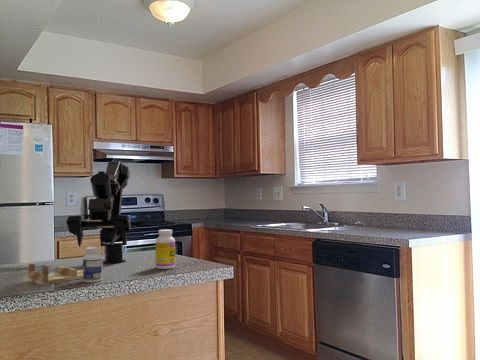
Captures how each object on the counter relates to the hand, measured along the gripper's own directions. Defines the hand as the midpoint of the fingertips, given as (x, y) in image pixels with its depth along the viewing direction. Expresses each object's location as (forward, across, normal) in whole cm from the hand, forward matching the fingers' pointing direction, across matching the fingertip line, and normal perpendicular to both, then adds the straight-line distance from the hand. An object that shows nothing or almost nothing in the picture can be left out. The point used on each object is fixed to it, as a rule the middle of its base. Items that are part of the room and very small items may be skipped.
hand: (94, 245), depth 128 cm
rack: (+5, -9, +9) cm, 14 cm away
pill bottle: (+9, 0, +6) cm, 11 cm away
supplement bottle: (-4, +20, +18) cm, 27 cm away
